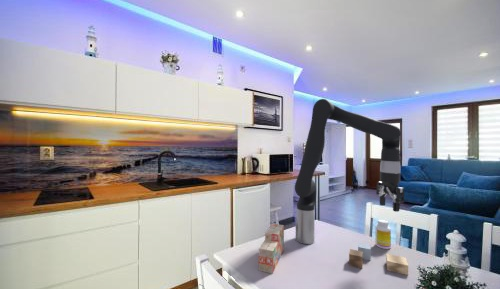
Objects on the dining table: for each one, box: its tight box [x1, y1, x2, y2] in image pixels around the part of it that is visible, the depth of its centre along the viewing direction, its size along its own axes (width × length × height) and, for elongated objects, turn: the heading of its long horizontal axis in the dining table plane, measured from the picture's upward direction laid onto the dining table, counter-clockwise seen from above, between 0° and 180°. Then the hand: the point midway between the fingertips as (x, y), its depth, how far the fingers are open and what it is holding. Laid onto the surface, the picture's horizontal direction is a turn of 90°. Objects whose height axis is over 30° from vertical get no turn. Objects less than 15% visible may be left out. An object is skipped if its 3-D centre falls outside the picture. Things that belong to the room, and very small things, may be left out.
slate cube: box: [357, 242, 372, 261], centre depth 99 cm, size 5×5×5 cm
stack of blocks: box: [258, 223, 285, 274], centre depth 97 cm, size 21×6×12 cm, turn 160°
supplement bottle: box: [374, 219, 392, 250], centre depth 109 cm, size 7×7×13 cm
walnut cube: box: [348, 248, 364, 270], centre depth 93 cm, size 5×5×5 cm
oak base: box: [385, 253, 409, 276], centre depth 90 cm, size 7×7×4 cm
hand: (388, 208), depth 94 cm, fingers open, 8 cm apart
